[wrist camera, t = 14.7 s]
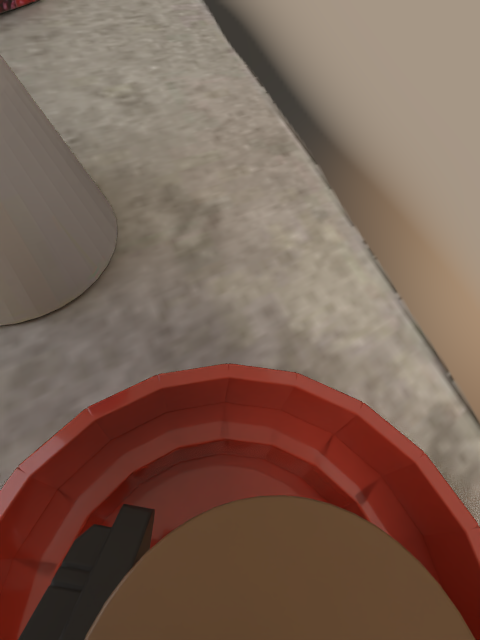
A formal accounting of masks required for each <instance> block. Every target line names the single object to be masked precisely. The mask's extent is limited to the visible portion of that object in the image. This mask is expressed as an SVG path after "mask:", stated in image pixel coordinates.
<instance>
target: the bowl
mask: <svg viewBox="0 0 480 640" xmlns="http://www.w3.org/2000/svg"><path fill="white" fill-rule="evenodd" d="M272 495H287V496H296V497H305V498H310V499H314V500H318V501H322V502H326V503H330V504H333V505H335V506H338V507H340V508H343V509H345V510H347V511H350V512H352V513H355V514H356V515H358V516H360V517H362V518H364V519H365V520H367V521H369V522H371V523H372V524H374V525H376V526H377V527H379V528H380V529H382V530H383V531H384V532H386V533H387V534H388V535H390V536H391V537H392V538H394V539H395V540H396V541H398V542H399V543H400V544H401V545H402V546H403V547H405V548H406V549H407V550H408V551H409V552H410V553H411V554H412V555H413V556H414V557H415V558H416V559H417V560H419V561H420V562H421V564H422V565H423V566H424V567H425V568H426V569H427V570H428V572H429V573H430V574H431V575H432V576H433V577H434V578H435V580H436V581H437V582H438V583H439V584H440V585H441V587H442V588H443V590H444V591H445V592H446V594H447V595H448V597H449V598H450V599H451V601H452V602H453V604H454V605H455V606H456V608H457V609H458V611H459V612H460V614H461V616H462V617H463V619H464V621H465V622H466V624H467V626H468V628H469V629H470V631H471V633H472V634H473V636H474V638H475V640H480V527H479V526H478V523H477V522H476V520H475V519H474V518H473V516H472V515H471V514H470V512H469V511H468V510H467V508H466V507H465V506H464V504H463V503H462V502H461V500H460V499H459V498H458V496H457V495H456V494H455V492H454V491H453V490H452V488H451V487H450V486H449V484H448V483H447V481H446V480H445V479H444V477H443V476H442V475H441V473H440V472H439V471H438V469H437V468H436V467H435V465H434V464H433V463H432V461H431V460H430V459H429V457H428V456H427V455H426V454H425V453H424V452H423V451H422V450H421V449H420V448H419V447H418V446H416V445H415V444H414V443H413V442H411V441H410V440H409V439H408V438H407V437H405V436H404V435H403V434H402V433H400V432H399V431H398V430H397V429H396V428H394V427H393V426H392V425H391V424H389V423H388V422H387V421H386V420H385V419H383V418H382V417H381V416H380V415H378V414H377V413H376V412H375V411H374V410H372V409H371V408H370V407H369V406H367V405H366V404H365V403H362V401H360V400H357V399H355V398H353V397H351V396H348V395H346V394H344V393H342V392H339V391H337V390H335V389H333V388H330V387H328V386H326V385H324V384H321V383H319V382H317V381H315V380H312V379H310V378H308V377H306V376H304V375H301V374H299V373H296V372H289V371H282V370H274V369H267V368H260V367H252V366H245V365H238V364H221V365H214V366H208V367H201V368H195V369H189V370H182V371H176V372H169V373H163V374H159V375H155V376H153V377H151V378H149V379H147V380H144V381H142V382H140V383H138V384H136V385H134V386H132V387H129V388H127V389H125V390H123V391H121V392H119V393H117V394H115V395H112V396H110V397H108V398H106V399H104V400H102V401H100V402H98V403H95V404H93V405H91V406H89V407H88V408H87V409H84V410H83V411H82V412H81V413H80V414H78V415H77V416H76V417H75V418H74V419H73V420H71V421H70V422H69V423H68V424H67V425H66V426H64V427H63V428H62V429H61V430H60V431H58V432H57V433H56V434H55V435H54V436H53V437H51V438H50V439H49V440H48V441H47V442H46V443H44V444H43V445H42V446H41V447H40V448H38V449H37V450H36V451H35V452H34V453H33V454H31V455H30V456H29V457H28V458H27V459H26V460H24V461H23V462H22V463H21V464H20V465H19V467H17V468H16V469H15V471H14V472H13V473H12V475H11V476H10V478H9V479H8V480H7V482H6V483H5V485H4V486H3V487H2V489H1V490H0V640H18V639H19V637H20V635H21V633H22V632H23V630H24V628H25V626H26V625H27V623H28V621H29V619H30V618H31V616H32V614H33V612H34V611H35V609H36V607H37V605H38V604H39V602H40V600H41V598H42V597H43V595H44V593H45V591H46V590H47V588H48V586H50V584H51V581H52V579H53V577H54V576H55V574H56V572H57V570H58V569H59V567H61V565H62V562H63V560H64V558H65V556H66V555H67V553H68V551H69V549H70V548H71V546H72V544H73V542H74V541H75V540H76V539H77V538H78V537H79V536H80V535H82V534H83V533H84V532H85V531H86V530H88V529H89V528H90V527H91V526H92V525H93V524H97V525H102V526H108V527H112V526H113V524H114V521H115V519H116V517H117V515H118V513H119V511H120V509H121V507H122V505H123V504H129V505H134V506H140V507H145V508H150V509H155V516H154V523H153V530H152V536H151V543H150V549H151V548H152V547H153V546H154V545H155V544H157V543H158V542H159V541H160V540H161V539H162V538H164V537H165V536H166V535H167V534H168V533H170V532H171V531H173V530H174V529H176V528H177V527H179V526H180V525H182V524H183V523H185V522H186V521H188V520H189V519H191V518H193V517H195V516H197V515H199V514H201V513H203V512H206V511H208V510H210V509H212V508H214V507H217V506H220V505H223V504H226V503H229V502H232V501H235V500H240V499H245V498H251V497H257V496H272Z"/></svg>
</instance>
